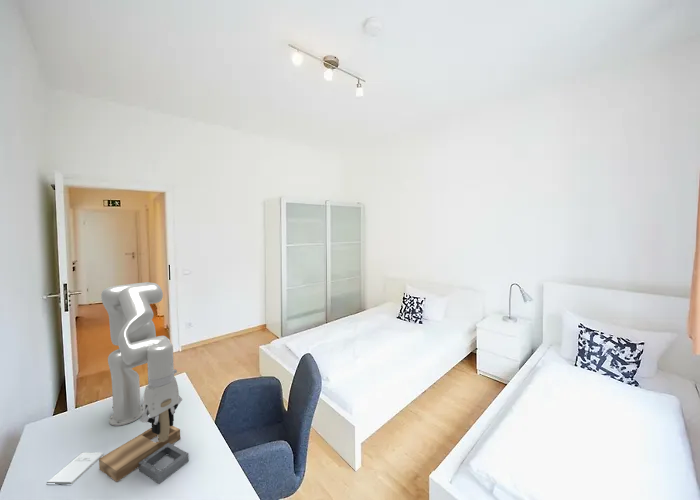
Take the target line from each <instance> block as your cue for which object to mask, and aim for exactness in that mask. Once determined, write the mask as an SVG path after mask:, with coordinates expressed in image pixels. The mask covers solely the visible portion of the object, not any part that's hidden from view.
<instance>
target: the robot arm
mask: <svg viewBox="0 0 700 500" xmlns="http://www.w3.org/2000/svg"><path fill="white" fill-rule="evenodd" d="M100 295H101V296H100V297H101V298H100V299H101V302H102V304H103V307H104V309H105V310H106V312H107V314H108V320H109V331H110V341H111V343H112V345H113V346H118V349H116V350H115V349H114V350H113V351H112V352H110V353H109V355H108V356H107V364H108V368H109V372H110V377H111V391H112V392H111V393H112V411H113V412H112V414H111V416H110V417H109V419H108V424H109V425H111V426H118V427H121V426H124V425H129V424H131V423H133V422H135V421H137V420H138V419H140V420H139V421H140V422H141V423H147V424H151V428H152V432H153V433H155V434H157V435H158V434H160V423H159V422H158V418H159V414H160V413H162V412H164V411H166V410H168V412H169V421H170V426H174V417H175V416H174V415H175V413H176V410H177V408H178V406H179V405H180V404H181V402H182V401H183V398H182V397H181V396H180V394H179V392H180V391H179V385H178V381H177V378H176V377H175V374H177V372H178V369H175V368H174V367H175V366H174V365H175V364H174V346H173V344H172V343H171V340H170V338H168V337H167V336H166V335H158V336H157V334H156V326H155V325H156V324H155V323H154V321H153V318H154V311H153V309H152V306H151V305H153V304H157V303H160V302H161V301H162V300H163V298H164V297H163V296H164V292H163V289H162V287H161V286H160V285H159V284H158V283H156V282H149V281H145V282H138V283H135V282H134V283H128V284H120V285H119V284H118V285H112V286H109V287H106V288H104V289H103V290H102V291H101V294H100ZM145 364H147V385H146V386H145V388H144V391H143V392H144V394H143V399H142V400H143V402H142V405H141V387H140V375H139V373H138V372H137V371H135V370H134V368H136V367H138V366H143V365H145ZM169 399H171V403H170V404H169V405H167V406H165V407H161V404H162V403H164V402H166V401H167V400H169Z"/></svg>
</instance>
